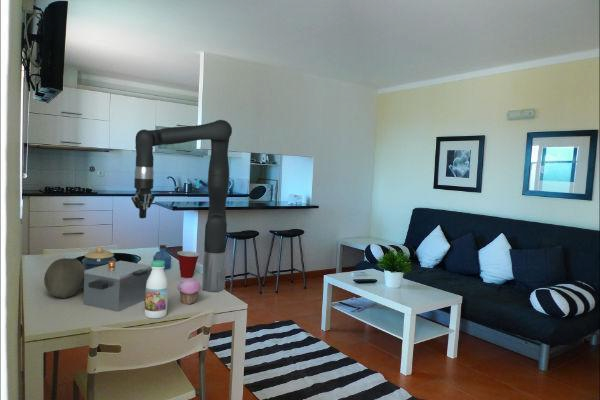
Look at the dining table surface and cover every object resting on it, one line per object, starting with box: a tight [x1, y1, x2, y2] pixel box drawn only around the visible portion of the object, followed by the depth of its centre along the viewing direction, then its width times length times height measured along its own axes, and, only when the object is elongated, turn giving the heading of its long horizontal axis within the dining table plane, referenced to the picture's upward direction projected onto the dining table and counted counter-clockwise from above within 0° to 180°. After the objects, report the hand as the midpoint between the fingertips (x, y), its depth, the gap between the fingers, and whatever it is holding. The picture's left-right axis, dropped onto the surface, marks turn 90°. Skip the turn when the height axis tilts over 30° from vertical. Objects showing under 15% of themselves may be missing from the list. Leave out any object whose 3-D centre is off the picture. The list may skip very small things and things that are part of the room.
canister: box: [81, 246, 117, 291], centre depth 175 cm, size 13×13×18 cm
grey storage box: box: [82, 269, 152, 312], centre depth 160 cm, size 16×22×12 cm
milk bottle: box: [144, 260, 169, 320], centre depth 149 cm, size 8×8×20 cm
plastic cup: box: [177, 250, 201, 279], centre depth 201 cm, size 11×11×12 cm
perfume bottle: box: [152, 244, 172, 271], centre depth 213 cm, size 6×6×12 cm
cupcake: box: [177, 277, 202, 305], centre depth 165 cm, size 9×9×10 cm
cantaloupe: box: [43, 257, 86, 299], centre depth 162 cm, size 14×14×15 cm
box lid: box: [84, 260, 152, 280], centre depth 160 cm, size 19×19×3 cm
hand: (142, 218), depth 176 cm, fingers closed
